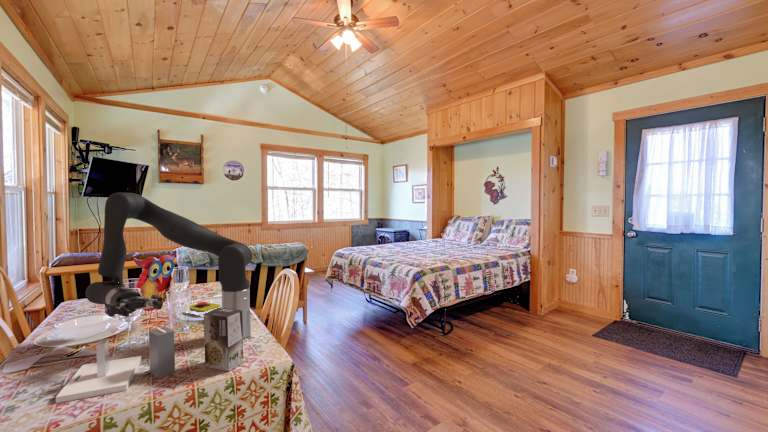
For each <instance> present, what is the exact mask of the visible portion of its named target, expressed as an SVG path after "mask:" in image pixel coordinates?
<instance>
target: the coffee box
mask: <svg viewBox="0 0 768 432" xmlns="http://www.w3.org/2000/svg"><path fill="white" fill-rule="evenodd" d="M203 315H204V318H203V337H204V342H203V343H204V367H205V368H209V369H215V370H219V371H225V372H230V371H232V370H233V368H234V369H235V368H237V367H239V366H240V365H242V364H243V363H244V338H243V317H242V310H235V309H227V308H222V307H220V308H217V309H214V310H212V311H210V312H208V313H205V314H203ZM241 363H242V364H241ZM238 365H239V366H238Z"/></svg>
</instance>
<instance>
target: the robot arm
mask: <svg viewBox="0 0 768 432" xmlns="http://www.w3.org/2000/svg"><path fill="white" fill-rule="evenodd" d="M104 205H105V206H104V220H103V221H104V226H103V228H104V229H103V244H102V249H101V250H102V251H101V254H100V255H101V256H100V260H99V264H98V268H97V273H98V275H99V276H101V277H105V278H111V279H112V280H110V281H95V282H92V283H91V284H89V285H88V286H87V288H86V289H85V298H86V299H87V301H88V302H90V303H92V304H98V305H104V314H106V316H108V317H111V318H113V317H115V316H116V315H117V316H120V317H124V318H128V317H130V314H133V313H135V312H136V311H138V310H148V309H150V308H153V309H156V310H162V308H163V306H164V300H163V299H164V297H163V296H159V295H156V294H152V295H151V296H149V297H145V296H144V297H143V296H142V295H141V293H140V292H138V291H136V290H133V289H132V288H128V287H126V286H124V275H123V274H124V268H125V262H126V258H127V247H126V246H127V245H126V242H125V236H124V230H125V229H124V228H125V225H126V223H127V220H128V219H133V220H134V219H135V220H137V221H141V222H143V223H146V224H148V225H150V226H152V227H153V228H155V229H156V230H157V231H158V232H159V234H160V235H162V236H163V237H164V238H165V239H167V240H169V241H171V242H174V243H175V244H176V245H180V246H182V247H185V248H186V249H187V248H188V249H192V250H196V251H201V252H206V253H209V254H213V255H214V256H217V259H218V260H217V265H218V266H217V267H218V280H219V284H220V285H221V308H227V309H235V310H242V317H243V339H245V338H250V337H251V335H252V333H251V332H252V331H251V329H252V328H251V306H250V305H251V304H250V303H251V301H250V300H251V299H250V297H251V296H250V295H251V294H250V293H251V291H250V287H251V286H250V285H251V283H250V280H249V279H248V278H247V276H246V275H247V274H246V272H247V271H246V267H247V266H248V265H249V264H250V263H251V262H252V260H253V251H252V249H251V248H250V247H249V246H248V245H247V244H245V243H243V242H240V241H237V240H235V239H231V238H228V237H225V236H222V235H221V234H218V233H216V232H215V231H213V230H211V229H210V228H207V227H205V226H202V225H201V224H198V223H197V222H195V221H193V220H191V219H189V218H186V217H184V216H182V215H180V214H178V213H175V212H173V211H171V210H168V209H165V208H163V207H161V206H159V205H157V204H155V203H154V202H152V201H150V200H149V199H147V198H146V197H144V196H143V195H141V194H138V193H134V192H114V193H112V194H110V195H109V196H108V197H107V199H106V200H105V203H104ZM118 282H119V283H118Z"/></svg>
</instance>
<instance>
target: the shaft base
mask: <svg viewBox="0 0 768 432" xmlns="http://www.w3.org/2000/svg"><path fill="white" fill-rule="evenodd" d="M141 362H142V355H137V356H131V357H125V358H118V359H111V360H110V359H109V372H108V373H107V375H106V376H104V377H98V378H97V362H93V363H92V362H90V363H85V364H82V365H81V366H80V368H79V369H78V370H77V371H76V373H75V374H74V375H73V376H72V377H71V378H70V379H69V381H68V382H67V383H66V384H65V385H64V387H63V388H62V389H61V390H60V391H59V392H58V394H57V395H56V396H55V404H59V403H65V402H70V401H71V402H72V401H75V400H81V399H86V398H92V397H98V396H103V395H107V394H108V395H109V394H114V393H118V392H124V391H125V392H126V391H127V390H128V388H129V386H130V384H131V382H132V380H133V378H134V376H135V374H136V372H137V370H138V368H139V366H140V364H141Z"/></svg>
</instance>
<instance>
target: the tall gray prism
mask: <svg viewBox="0 0 768 432" xmlns="http://www.w3.org/2000/svg"><path fill="white" fill-rule="evenodd" d="M148 343H149V348H148V349H149V350H148V351H149V372H150V374H151V375H153V376H155V377H156V378H157V379H161V378H165V377H166V376H170V375H171V374H174V373H176V356H175V355H176V353H175V352H176V350H175V330H173V329H171V328H169V327H166V326H163V327H158V328H156V329H152V330H148Z"/></svg>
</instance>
